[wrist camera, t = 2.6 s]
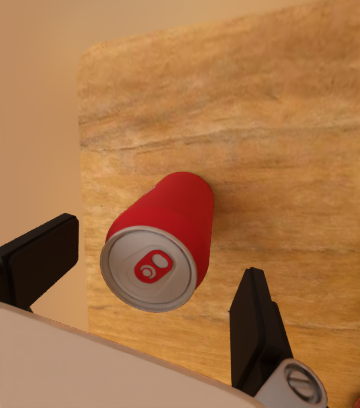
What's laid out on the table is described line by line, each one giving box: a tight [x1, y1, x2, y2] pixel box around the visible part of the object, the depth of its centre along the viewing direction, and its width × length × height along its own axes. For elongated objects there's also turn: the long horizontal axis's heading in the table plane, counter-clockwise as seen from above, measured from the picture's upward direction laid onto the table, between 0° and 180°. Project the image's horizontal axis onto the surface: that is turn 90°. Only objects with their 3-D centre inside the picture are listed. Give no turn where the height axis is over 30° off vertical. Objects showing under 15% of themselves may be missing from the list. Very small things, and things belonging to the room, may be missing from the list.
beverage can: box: [100, 172, 214, 313], centre depth 16 cm, size 6×6×12 cm
